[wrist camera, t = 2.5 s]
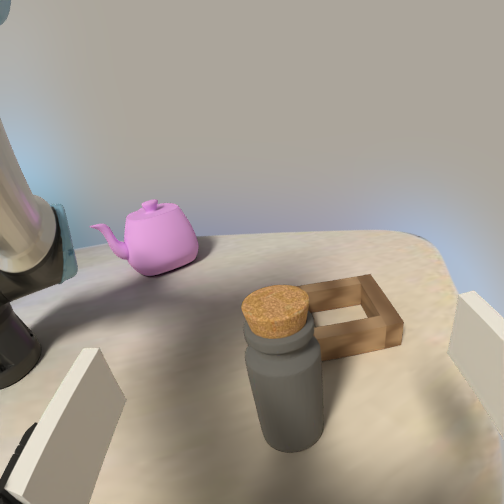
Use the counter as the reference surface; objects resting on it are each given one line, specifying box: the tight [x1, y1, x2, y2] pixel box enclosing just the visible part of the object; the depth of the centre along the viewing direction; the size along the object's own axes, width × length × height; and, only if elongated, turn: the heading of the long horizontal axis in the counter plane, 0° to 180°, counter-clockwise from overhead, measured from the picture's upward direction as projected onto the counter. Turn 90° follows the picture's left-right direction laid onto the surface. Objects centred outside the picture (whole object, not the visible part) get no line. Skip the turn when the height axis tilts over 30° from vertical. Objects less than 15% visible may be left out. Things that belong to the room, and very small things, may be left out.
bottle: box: [241, 285, 323, 452], centre depth 25 cm, size 6×6×15 cm
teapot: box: [90, 200, 198, 276], centre depth 71 cm, size 23×21×15 cm
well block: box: [295, 274, 404, 361], centre depth 41 cm, size 13×13×4 cm
